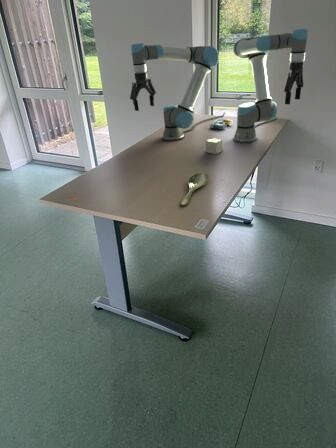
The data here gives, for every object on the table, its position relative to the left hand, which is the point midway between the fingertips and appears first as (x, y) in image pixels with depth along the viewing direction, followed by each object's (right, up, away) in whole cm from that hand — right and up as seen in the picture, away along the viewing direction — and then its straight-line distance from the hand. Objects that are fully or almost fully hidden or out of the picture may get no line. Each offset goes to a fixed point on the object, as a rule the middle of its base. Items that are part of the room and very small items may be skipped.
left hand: (144, 108), depth 214 cm
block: (+45, -27, +2) cm, 53 cm away
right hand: (+88, -3, -20) cm, 90 cm away
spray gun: (+58, +3, +50) cm, 77 cm away
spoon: (+28, -57, -44) cm, 77 cm away
